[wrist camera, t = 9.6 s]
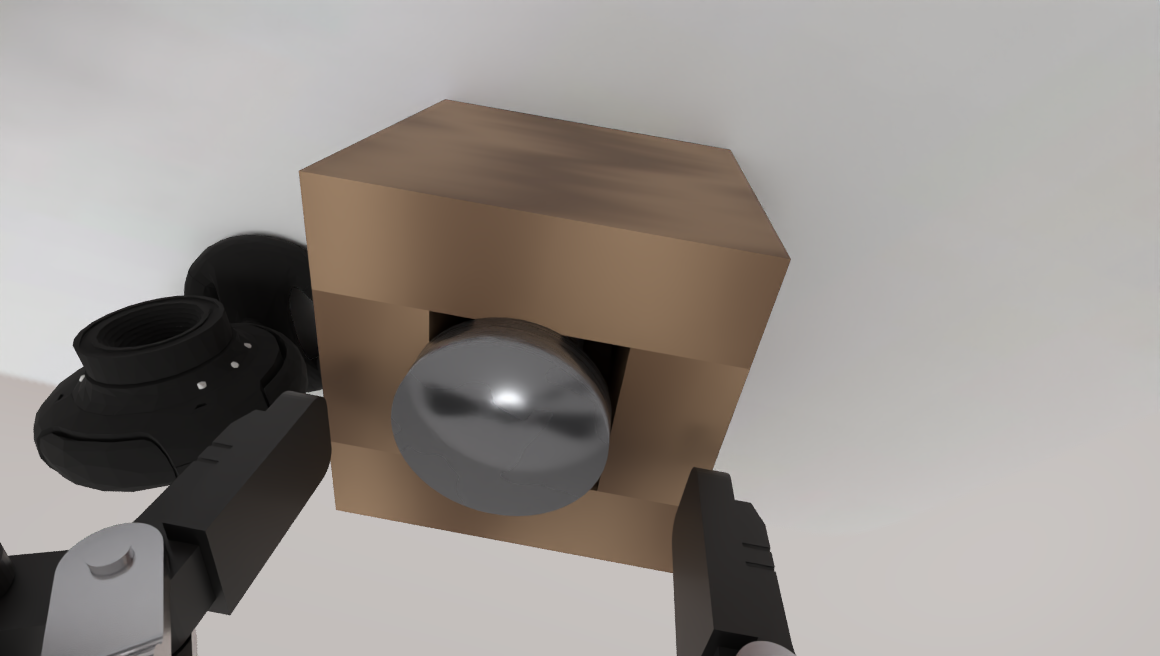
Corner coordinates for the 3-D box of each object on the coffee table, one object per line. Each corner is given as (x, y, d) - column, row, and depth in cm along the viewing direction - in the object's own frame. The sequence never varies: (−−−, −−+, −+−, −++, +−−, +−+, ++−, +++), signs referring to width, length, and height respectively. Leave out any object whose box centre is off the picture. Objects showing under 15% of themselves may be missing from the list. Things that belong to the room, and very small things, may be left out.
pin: (637, 210, 20) (629, 371, 11) (611, 327, 23) (589, 532, 14) (500, 184, 20) (388, 325, 11) (490, 304, 23) (392, 494, 14)
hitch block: (730, 149, 19) (791, 258, 11) (664, 382, 24) (673, 573, 16) (445, 99, 19) (298, 171, 11) (439, 340, 25) (336, 509, 16)
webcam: (350, 233, 22) (166, 377, 14) (384, 385, 26) (256, 573, 18) (169, 227, 23) (-112, 361, 15) (228, 376, 27) (31, 552, 18)
